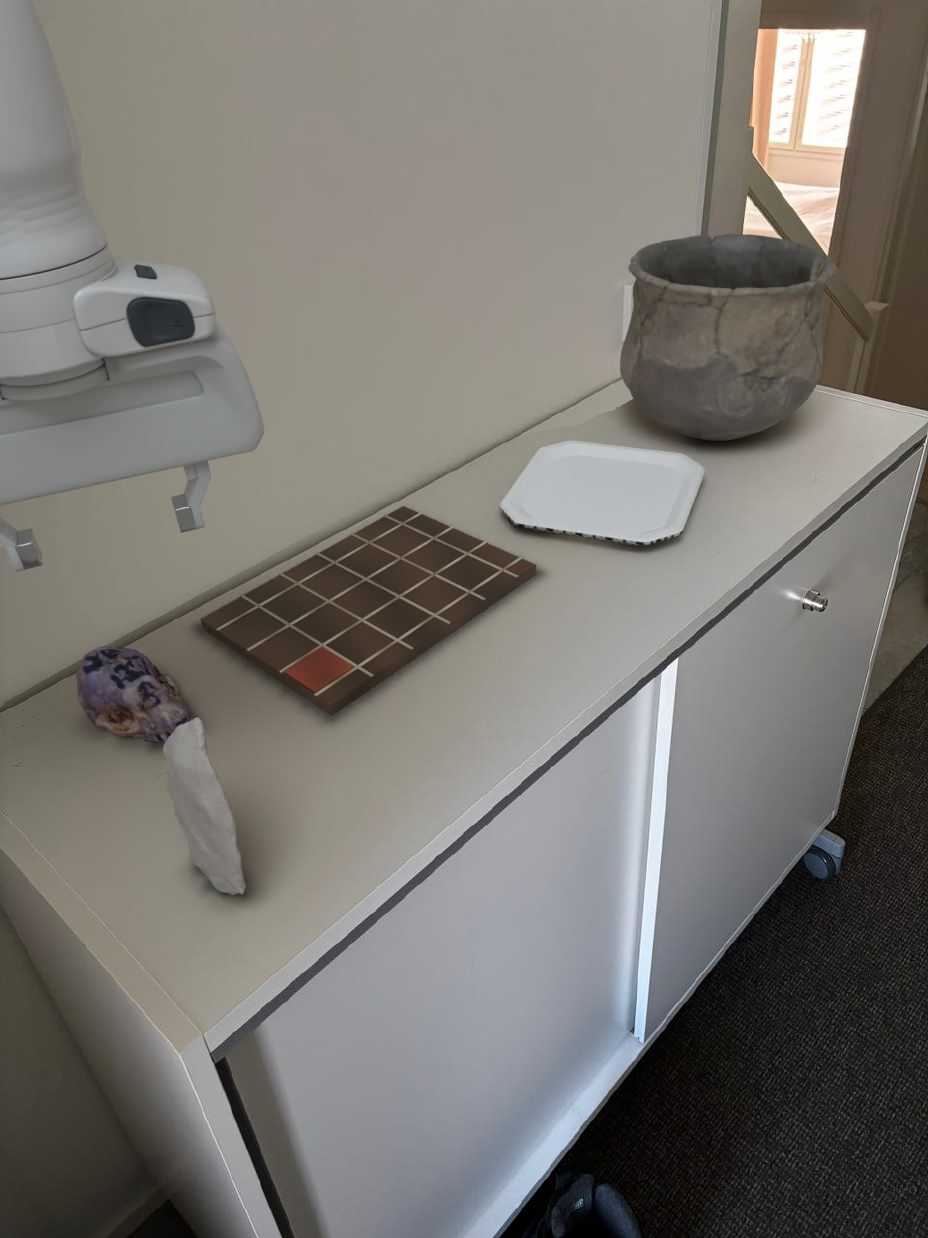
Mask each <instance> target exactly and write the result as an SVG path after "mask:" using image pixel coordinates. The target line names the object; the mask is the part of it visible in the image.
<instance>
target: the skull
mask: <svg viewBox="0 0 928 1238" xmlns="http://www.w3.org/2000/svg"><path fill="white" fill-rule="evenodd" d="M75 674H76V675H75V676H76V685H77V699H78V703H79V705H80V706H81V708H82V710H83V711H85V717H86V718H87V719H89V720H90V721H91V722H92V724H93V725H94V726H95V727H97V728H104V729H106V731H109V732H110V733H112V734H113V735H115V736H119V737H132V738H139V739H141V741H145V740H147V741H150V742H160V740H159V738H158V735H159V736H160V739H162V740H163V741H164V743H165V742H166V741H167V739H168V738H169V736H168V734H170V735H171V734H172V733H173V732H174V731H175V728H176V727H178V726H179V725H181V724H185V723H186V722H189V721H191V720H193V719H194V717H193V715H192V714H191V712H190V710H189V708H188V707H187V706H186V704H185V703H184V702H183V701H182V699H181V695H182V694H181V690H180V688H179V686H178V685H177V683H176V682H175V681H174V679H172V678H171V676H170V675H169V674H168V673H161V672H160V671H159V669H158V667H157V666H156V665H154V664H153V662H152V661H151V659H150V658H149V657H148V656H147V655H145V654H144V653H143V652H140V651H138V649H135V648H130V647H129V648H128V647H121V646H119V647H114V646H99V647H95V648H94V649H93V650H91V651H89V652H88V653H86V654H84V656H83V657H82V659H81V662H80V664H79V666H78V668H77V671H76V673H75ZM164 684H167V686H169V687H170V688H171V690H173V691H170V689H168V688H167V687H166V685H164ZM111 718H112V720H113V719H114V720H115V721H111V720H110V719H111Z"/></svg>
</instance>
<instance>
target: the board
mask: <svg viewBox="0 0 928 1238" xmlns="http://www.w3.org/2000/svg"><path fill="white" fill-rule="evenodd" d="M536 575H537V564H536V563H534V562H532V561H529V560H527V559H524V558H523V557H522V556H518V555H516V554H513V553H511V552H508V551H507V550H504V549H501V548H499V547H497V546H496V545H493V544H491V543H489V542H488V541H486V540H484V541H483V540H481V539H479V538H478V537H475V536H472V535H471V534H468V533H465V532H464V531H461V530H459V529H458V528H455V527H454V526H449V525H448V524H445V523H443V522H441V521H438V520H437V519H435V518H432V517H430V516H427V515H425V514H424V513H422V512H418V511H416V510H414V509H412V508H409V507H407V506H405V505H402V506H400V507H398V508H396V509H395V510H393V511H392V512H389V513H388V514H384V515H383V516H382V517H380V518H379V519H377V520H375V521H373V522H371V523H370V524H368V525H366V526H364V527H362V528H361V529H359V530H357V531H355V532H354V533H350V535H348V536H347V537H345V538H343V539H341V540H339V541H337V542H336V543H334V544H331V545H330V546H328V547H327V548H324V549H323V550H321V551H319V552H316V553H315V554H313V556H311V557H309V558H307V559H305V560H304V561H301V562H300V563H298V564H296V565H295V566H292V567H291V568H289V569H287V570H286V571H284V572H280V573H278V575H276V576H275V577H273V578H271V579H269V580H268V581H266V582H264V583H261V584H260V585H259V586H257V587H255V588H254V589H251V590H249V591H248V592H246V593H244V594H240V595H239V596H238V597H237V598H235V599H233V600H231V601H230V602H228V603H226V604H224V605H222V606H221V607H219V608H217V609H215V610H214V611H212V612H210V613H209V614H207V615H204V616H203V617H201V618H200V623H201V626H202V629H203V630H205V631H206V632H208V633H209V634H211V635H212V636H214V638H217V640H219V641H221V642H222V643H224V644H226V645H227V646H229V647H230V648H231V649H233V650H234V651H236V652H237V653H239V654H240V655H242V656H243V657H245V658H246V659H248V660H249V661H250V662H252V663H254V664H255V665H256V666H258V667H260V668H261V669H263V670H264V671H265V672H267V673H268V674H270V675H271V676H272V677H274V678H276V679H277V680H278V681H280V682H281V683H283V684H284V685H286V686H288V687H289V688H291V689H292V690H294V692H297V693H298V695H301V696H303V697H304V698H305V699H307V700H308V701H309V702H311V703H313V704H314V705H316V706H317V707H318V708H320V709H321V710H323V711H324V712H326V713H327V714H329V715H331V716H333V715H335V714H336V713H338V712H339V711H341V710H342V709H343V708H345V707H346V706H348V705H349V704H351V703H352V702H354V701H355V700H357V699H358V698H360V697H361V696H363V694H365V693H366V692H368V691H369V690H371V689H373V688H374V687H375V686H376V685H378V684H379V683H381V682H383V681H384V680H385V679H387V678H388V677H389V676H391V675H393V674H394V673H396V672H397V671H398V670H400V669H401V668H403V667H404V666H406V665H407V664H408V663H410V662H412V661H413V660H414V659H416V658H417V657H418V656H420V655H421V654H423V653H425V652H426V651H427V650H429V649H430V648H432V647H433V646H435V645H436V644H438V643H439V642H441V641H442V640H443V639H444V638H446V637H448V636H449V635H450V634H452V633H454V632H455V631H456V630H458V629H459V628H460V627H462V626H463V625H466V623H468V622H469V621H470V620H472V619H474V618H475V617H477V616H478V615H479V614H480V613H482V612H484V611H485V610H487V609H488V608H489V607H491V606H492V605H493V604H495V603H497V601H500V600H501V599H502V598H503V597H505V596H506V595H508V594H509V593H511V592H512V591H514V590H515V589H517V588H518V587H519V586H521V585H522V584H524V583H526V582H527V581H528V580H530V579H531V578H532V577H534V576H536Z"/></svg>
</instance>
